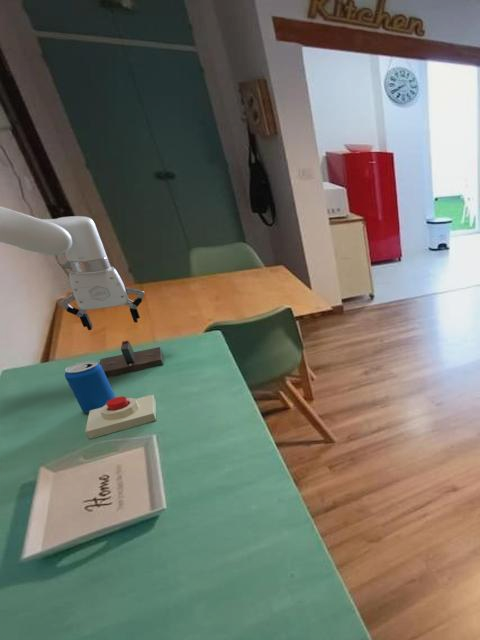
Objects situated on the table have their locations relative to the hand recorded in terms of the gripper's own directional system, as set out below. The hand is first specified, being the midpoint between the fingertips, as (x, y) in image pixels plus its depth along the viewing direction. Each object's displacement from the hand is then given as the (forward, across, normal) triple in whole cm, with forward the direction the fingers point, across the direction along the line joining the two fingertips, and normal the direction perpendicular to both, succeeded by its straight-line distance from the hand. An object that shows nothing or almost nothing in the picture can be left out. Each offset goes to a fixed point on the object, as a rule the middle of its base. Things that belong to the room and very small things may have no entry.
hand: (113, 324), depth 117 cm
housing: (+14, -1, -31) cm, 34 cm away
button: (+10, -1, -31) cm, 32 cm away
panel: (+14, +1, +1) cm, 14 cm away
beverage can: (+14, -5, -21) cm, 26 cm away
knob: (+12, +1, +1) cm, 12 cm away
